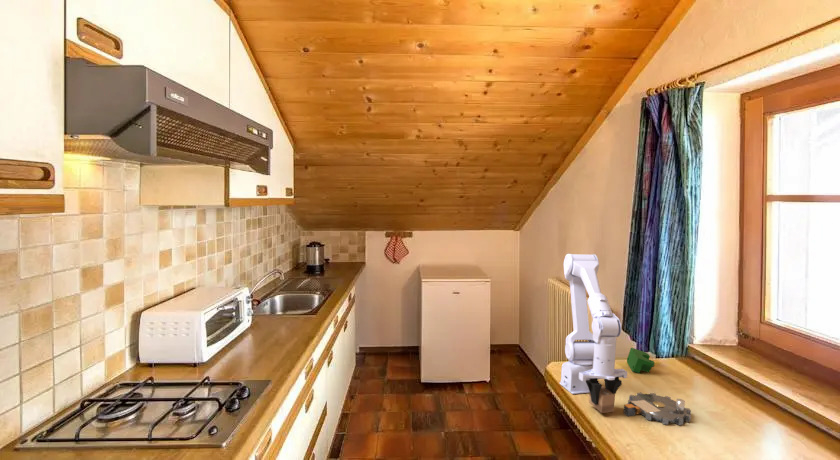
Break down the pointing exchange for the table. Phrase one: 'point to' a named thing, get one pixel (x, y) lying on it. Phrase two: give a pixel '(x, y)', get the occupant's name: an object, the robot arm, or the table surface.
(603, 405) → the link block
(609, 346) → the robot arm
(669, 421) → the sprocket disc
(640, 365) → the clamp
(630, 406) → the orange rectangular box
